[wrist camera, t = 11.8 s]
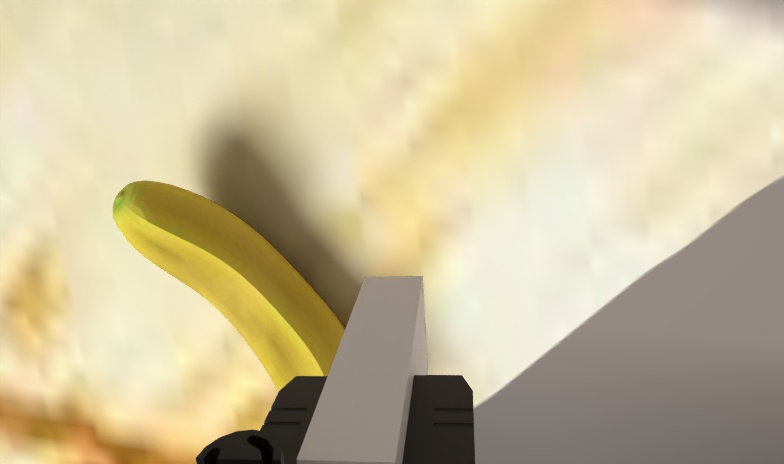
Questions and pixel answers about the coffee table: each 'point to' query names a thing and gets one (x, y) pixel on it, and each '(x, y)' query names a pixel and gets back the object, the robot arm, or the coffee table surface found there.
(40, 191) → the coffee table surface
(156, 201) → the fruit
